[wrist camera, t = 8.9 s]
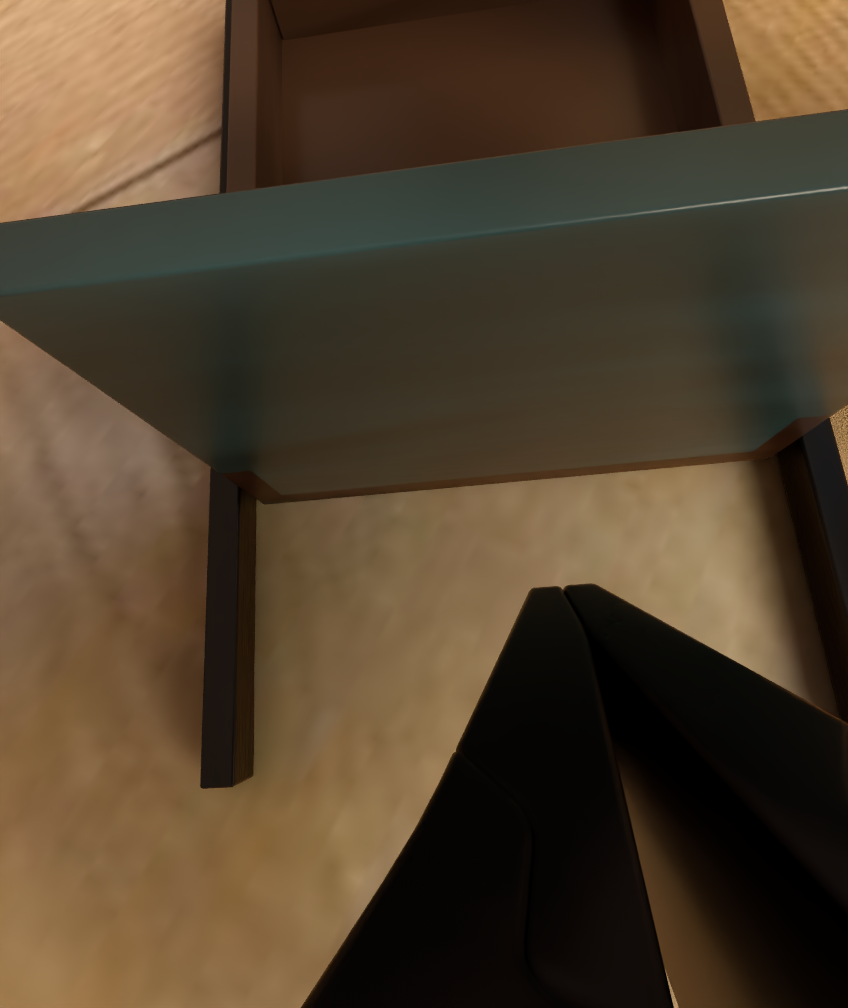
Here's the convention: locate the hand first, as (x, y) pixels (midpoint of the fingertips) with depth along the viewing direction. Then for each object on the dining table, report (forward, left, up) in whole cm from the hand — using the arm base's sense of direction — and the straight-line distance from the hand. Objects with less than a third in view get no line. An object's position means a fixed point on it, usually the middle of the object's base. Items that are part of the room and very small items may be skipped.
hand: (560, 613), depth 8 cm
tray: (+8, -8, -6) cm, 13 cm away
